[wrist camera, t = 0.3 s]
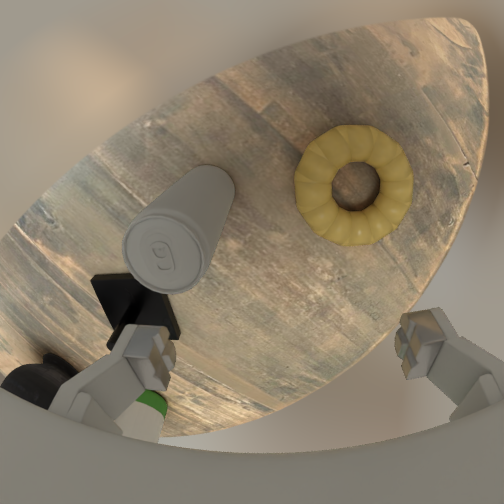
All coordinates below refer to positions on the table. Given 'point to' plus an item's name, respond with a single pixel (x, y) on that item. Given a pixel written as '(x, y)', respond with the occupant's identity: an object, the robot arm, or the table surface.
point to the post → (132, 305)
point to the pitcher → (39, 380)
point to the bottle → (144, 417)
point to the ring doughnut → (324, 170)
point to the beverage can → (179, 231)
